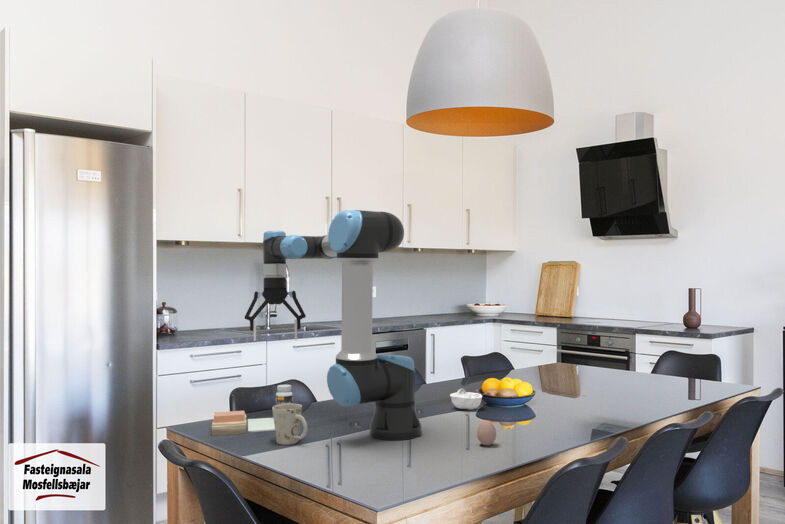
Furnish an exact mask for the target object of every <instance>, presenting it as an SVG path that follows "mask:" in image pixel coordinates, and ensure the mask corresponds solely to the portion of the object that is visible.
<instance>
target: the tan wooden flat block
mask: <svg viewBox="0 0 785 524" xmlns="http://www.w3.org/2000/svg"><path fill="white" fill-rule="evenodd" d="M247 433H248V427H247V413H245V421H240V422H225V423H214V416H213V418H212V423H211V436H213V437H214V436H224V435H225V436H227V435H228V436H229V435H240V434H241V435H243V434H247Z"/></svg>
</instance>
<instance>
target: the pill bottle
mask: <svg viewBox="0 0 785 524" xmlns="http://www.w3.org/2000/svg"><path fill="white" fill-rule="evenodd" d="M276 390H277V392H276V393H275V405H279V404H288V403H293V404H294V393H293V392H292V391H291V390H292V385H291V384H278V385H277V387H276Z"/></svg>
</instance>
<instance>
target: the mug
mask: <svg viewBox="0 0 785 524" xmlns="http://www.w3.org/2000/svg"><path fill="white" fill-rule="evenodd" d="M302 412H303V405H302V404H300V403H294V402H293V403H288V404H279V405H276V404H275V405H273V406H272V418H274V425H275V439H276V443H277V444H278V445H284V446H285V445H288V446H289V445H294V444H297V443H298V442H299V441H300V440H302V439H304V438H305V437H306V435H307V433H308V423H307V421H306V419H305V417H304V416H303V415H302ZM301 423H302V427H303V430H302V433H301V435H300V431H301Z"/></svg>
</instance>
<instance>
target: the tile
mask: <svg viewBox="0 0 785 524" xmlns="http://www.w3.org/2000/svg"><path fill="white" fill-rule="evenodd" d="M245 414H246V412H245V410H233V411H232V410H231V411H217V412H214V414H213V417H214V423H225V422H240V421H245Z"/></svg>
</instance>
